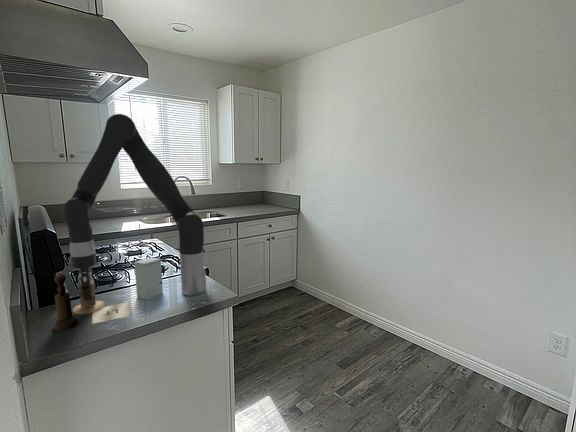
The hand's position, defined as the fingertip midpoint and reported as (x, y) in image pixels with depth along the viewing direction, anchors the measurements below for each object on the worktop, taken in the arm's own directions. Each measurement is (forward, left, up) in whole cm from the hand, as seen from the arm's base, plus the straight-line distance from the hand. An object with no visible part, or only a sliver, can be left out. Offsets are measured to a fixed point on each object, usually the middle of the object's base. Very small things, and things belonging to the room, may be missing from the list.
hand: (88, 297), depth 118 cm
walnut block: (0, 0, -2) cm, 2 cm away
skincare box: (-21, -1, -4) cm, 21 cm away
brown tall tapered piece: (+6, +11, -4) cm, 14 cm away
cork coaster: (0, 0, -4) cm, 4 cm away
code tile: (-7, +8, -4) cm, 11 cm away
